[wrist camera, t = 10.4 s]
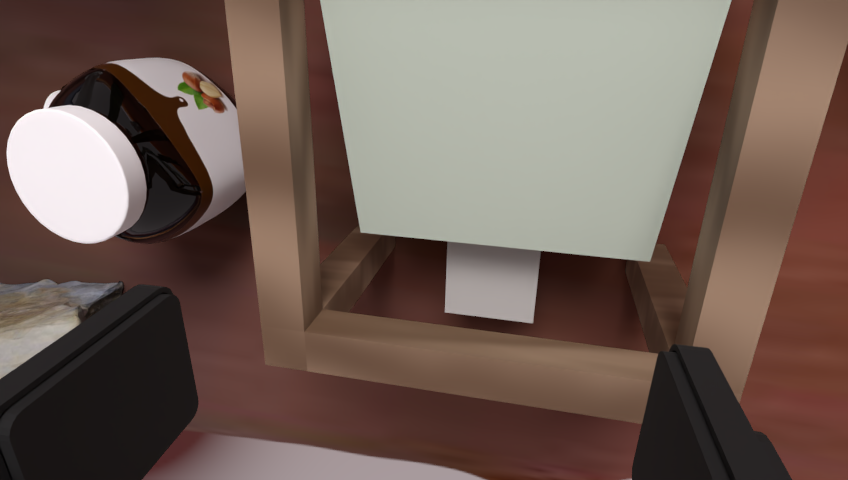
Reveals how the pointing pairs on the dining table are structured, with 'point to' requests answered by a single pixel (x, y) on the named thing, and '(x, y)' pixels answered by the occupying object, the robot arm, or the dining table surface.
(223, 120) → the spread jar
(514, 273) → the gray cube
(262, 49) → the trapdoor frame
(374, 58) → the trapdoor
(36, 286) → the fossil rock
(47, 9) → the dining table surface
